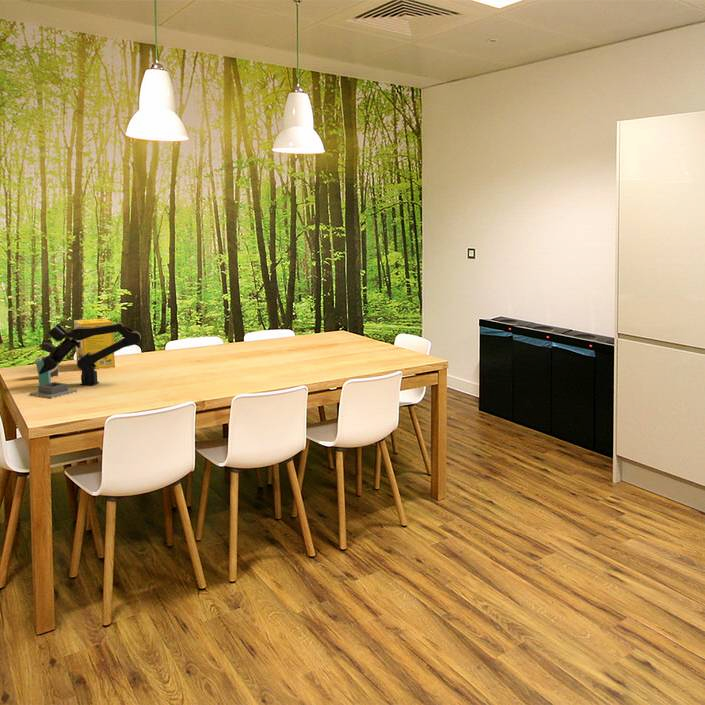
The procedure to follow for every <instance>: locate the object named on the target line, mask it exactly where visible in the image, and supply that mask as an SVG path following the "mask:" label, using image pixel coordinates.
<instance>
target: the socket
mask: <svg viewBox="0 0 705 705" xmlns="http://www.w3.org/2000/svg"><path fill="white" fill-rule="evenodd" d="M68 385H69V383H65V382H63V383H62V382H59V381H58V382H57V381H53V382H52V381H51V383H48V384H43V385H39V384H38V385H37V386H38V387H37V389H38V390H35V391H31V392H29V395H30V394H32V395H31V396H34V395H38V396H37V397H40V396H44V397H43V398H45V397H49V398H48V399H53V398H52V397H55V398H58V397H57V396H59V397H62V396H61V395H63V396H66V395H65V394H67V395H70V394H69V393H71V394H74V393H73V392H75V393H77V392H78V390H77V389H76V388H75V389H73V388H69V386H68Z"/></svg>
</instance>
